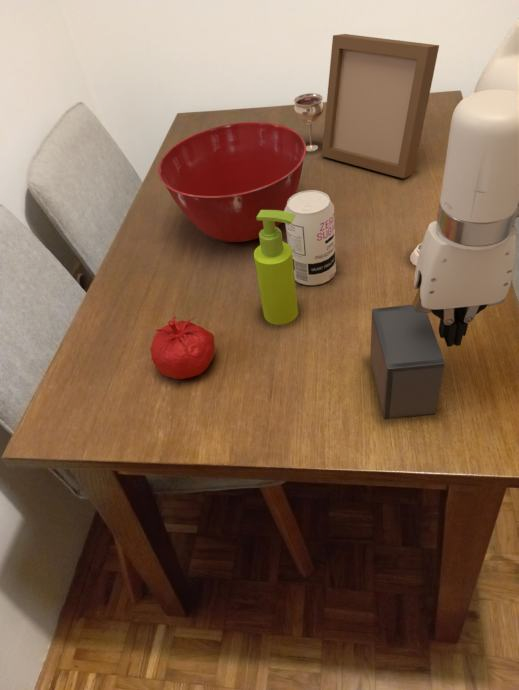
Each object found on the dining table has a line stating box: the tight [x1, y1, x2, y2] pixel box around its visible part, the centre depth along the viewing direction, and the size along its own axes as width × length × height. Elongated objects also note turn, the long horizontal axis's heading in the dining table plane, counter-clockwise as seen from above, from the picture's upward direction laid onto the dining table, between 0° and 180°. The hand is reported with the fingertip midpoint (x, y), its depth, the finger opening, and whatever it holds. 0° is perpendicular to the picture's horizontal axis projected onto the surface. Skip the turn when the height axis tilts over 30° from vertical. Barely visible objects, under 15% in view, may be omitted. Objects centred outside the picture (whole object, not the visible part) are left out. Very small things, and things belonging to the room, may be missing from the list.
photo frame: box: [321, 33, 440, 179], centre depth 113 cm, size 15×22×25 cm
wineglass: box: [293, 92, 324, 152], centre depth 125 cm, size 7×7×12 cm
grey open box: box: [369, 304, 446, 420], centre depth 72 cm, size 7×11×11 cm, turn 1°
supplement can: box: [284, 189, 337, 286], centre depth 91 cm, size 8×8×15 cm
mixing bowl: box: [157, 121, 307, 243], centre depth 105 cm, size 28×28×16 cm
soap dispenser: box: [253, 210, 299, 326], centre depth 82 cm, size 6×7×20 cm
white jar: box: [409, 242, 422, 267], centre depth 93 cm, size 5×3×5 cm
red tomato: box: [150, 315, 216, 380], centre depth 81 cm, size 10×10×9 cm
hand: (450, 338), depth 69 cm, fingers closed
